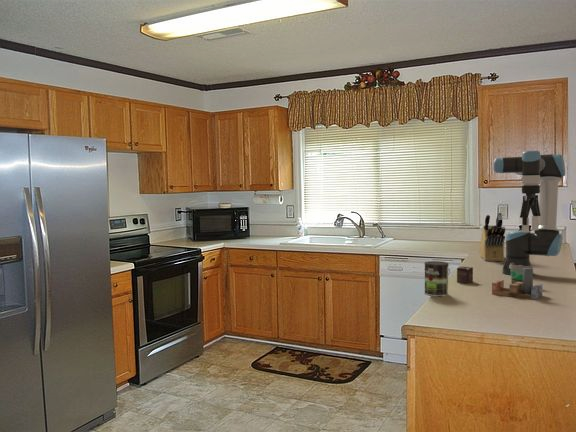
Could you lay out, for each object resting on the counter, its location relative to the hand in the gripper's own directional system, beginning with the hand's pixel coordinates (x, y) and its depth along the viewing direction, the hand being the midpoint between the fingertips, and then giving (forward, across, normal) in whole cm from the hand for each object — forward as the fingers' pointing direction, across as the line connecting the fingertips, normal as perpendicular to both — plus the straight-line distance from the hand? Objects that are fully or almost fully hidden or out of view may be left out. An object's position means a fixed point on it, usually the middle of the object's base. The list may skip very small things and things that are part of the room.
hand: (530, 231), depth 239 cm
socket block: (+27, +17, 0) cm, 32 cm away
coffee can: (+27, +37, -28) cm, 54 cm away
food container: (+27, -5, -7) cm, 28 cm away
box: (+27, +2, -30) cm, 40 cm away
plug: (+27, +17, +4) cm, 32 cm away
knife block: (+27, -81, -48) cm, 98 cm away
